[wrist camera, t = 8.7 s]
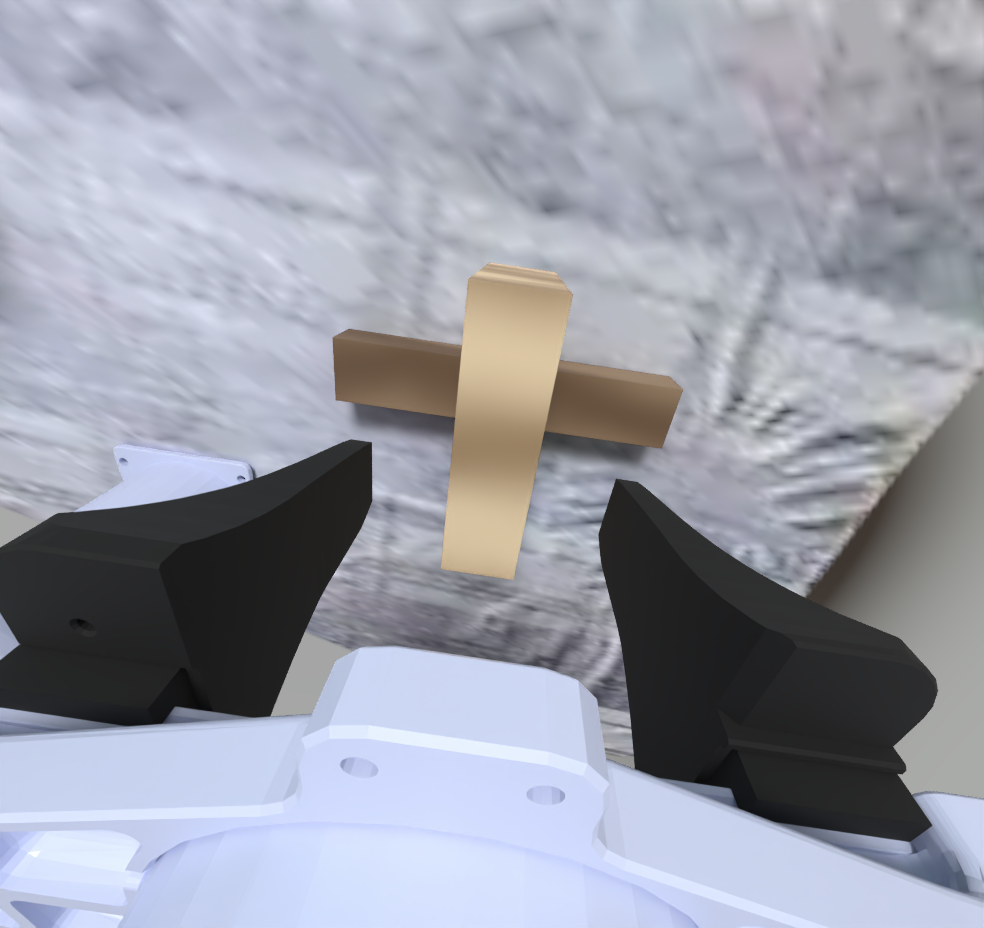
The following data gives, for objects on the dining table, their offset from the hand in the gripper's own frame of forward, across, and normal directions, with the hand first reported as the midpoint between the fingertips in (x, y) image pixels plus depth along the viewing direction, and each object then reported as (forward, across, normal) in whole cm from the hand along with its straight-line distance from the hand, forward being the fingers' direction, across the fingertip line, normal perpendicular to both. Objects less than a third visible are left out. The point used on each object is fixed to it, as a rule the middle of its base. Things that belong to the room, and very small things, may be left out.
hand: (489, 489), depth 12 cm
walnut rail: (+10, 0, 0) cm, 10 cm away
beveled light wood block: (+10, 0, 0) cm, 10 cm away
